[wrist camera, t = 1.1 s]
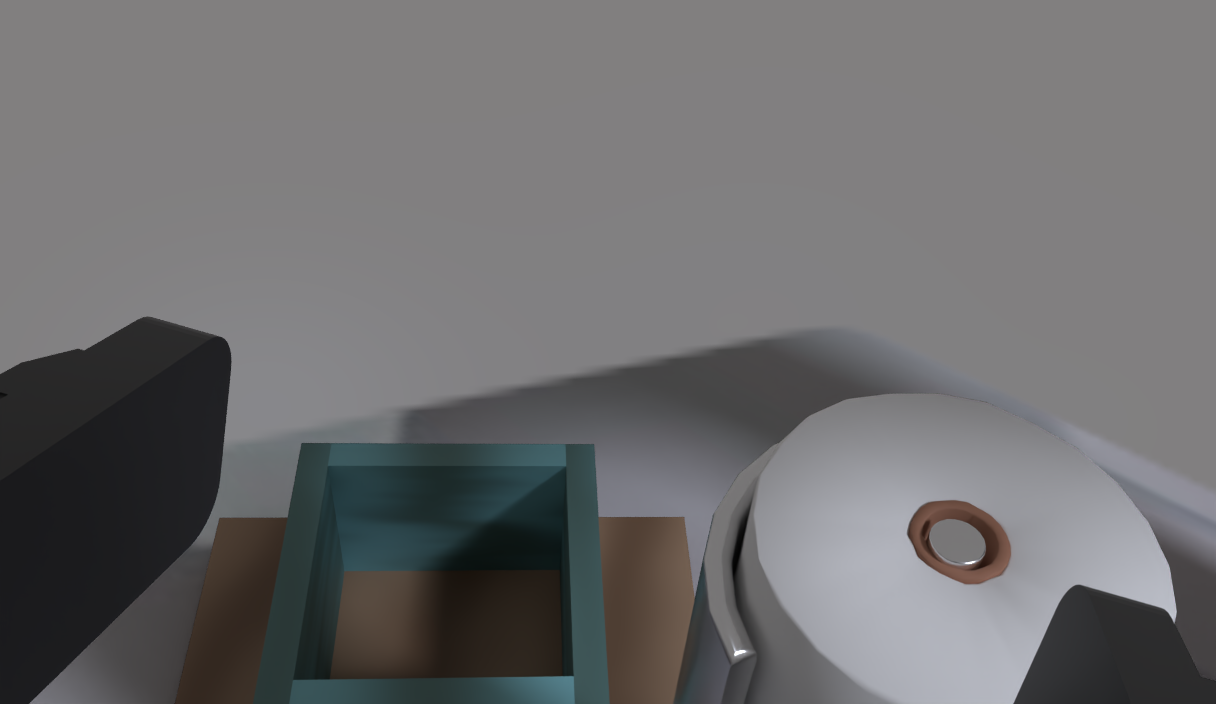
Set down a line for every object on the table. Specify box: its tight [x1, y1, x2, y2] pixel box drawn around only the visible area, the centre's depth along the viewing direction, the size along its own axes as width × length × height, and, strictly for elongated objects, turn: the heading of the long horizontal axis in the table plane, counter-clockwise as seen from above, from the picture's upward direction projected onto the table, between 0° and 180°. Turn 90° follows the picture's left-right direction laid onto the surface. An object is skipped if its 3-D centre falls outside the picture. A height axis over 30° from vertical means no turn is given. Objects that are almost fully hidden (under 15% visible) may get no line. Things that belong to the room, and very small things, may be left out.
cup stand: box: [175, 443, 695, 704], centre depth 38 cm, size 18×13×7 cm
